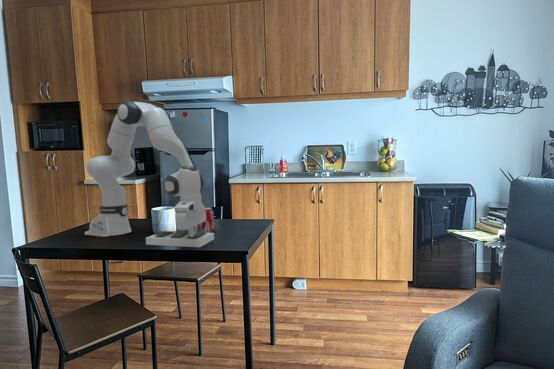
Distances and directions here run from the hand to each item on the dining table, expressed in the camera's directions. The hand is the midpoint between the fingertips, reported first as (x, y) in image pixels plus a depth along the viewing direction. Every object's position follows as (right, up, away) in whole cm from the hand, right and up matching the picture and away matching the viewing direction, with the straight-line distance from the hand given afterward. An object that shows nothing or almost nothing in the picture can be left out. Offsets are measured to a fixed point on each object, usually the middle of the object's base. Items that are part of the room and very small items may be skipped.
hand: (192, 236), depth 162 cm
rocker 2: (+1, -1, +4) cm, 4 cm away
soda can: (+2, -2, +24) cm, 24 cm away
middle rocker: (-7, 0, +6) cm, 9 cm away
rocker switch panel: (-7, -3, +6) cm, 10 cm away
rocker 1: (-15, 0, +8) cm, 17 cm away
